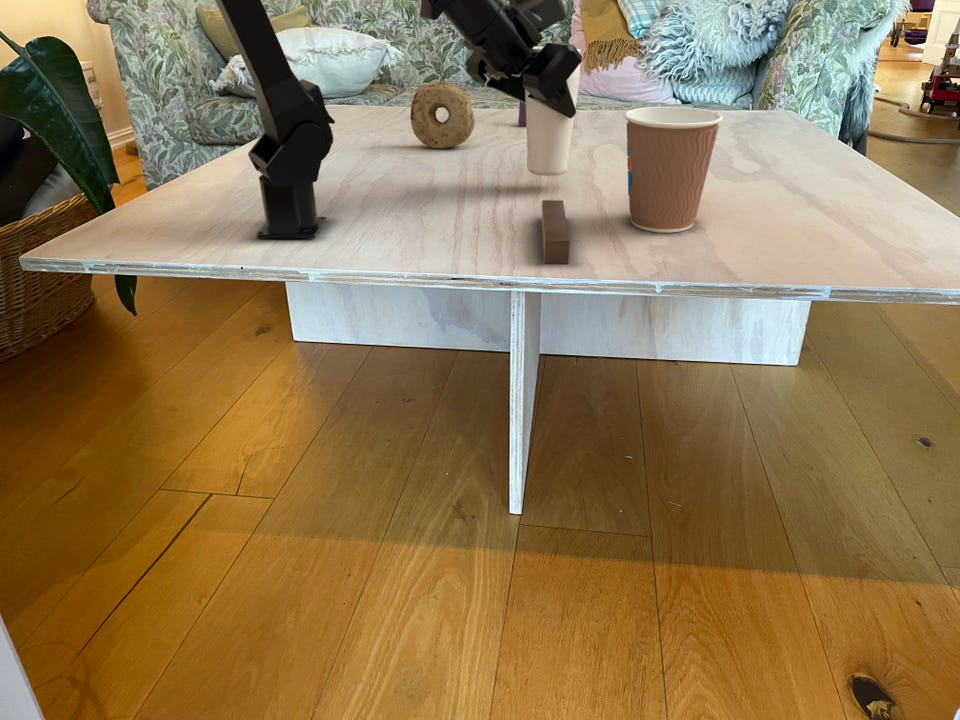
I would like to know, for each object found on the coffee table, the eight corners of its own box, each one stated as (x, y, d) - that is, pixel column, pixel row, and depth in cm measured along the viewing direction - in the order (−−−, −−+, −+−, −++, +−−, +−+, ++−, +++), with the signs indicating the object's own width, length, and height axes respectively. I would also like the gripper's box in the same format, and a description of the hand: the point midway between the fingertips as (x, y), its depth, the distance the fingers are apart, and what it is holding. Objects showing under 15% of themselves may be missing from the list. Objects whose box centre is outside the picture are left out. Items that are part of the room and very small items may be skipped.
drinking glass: (561, 180, 92) (569, 50, 86) (512, 174, 95) (516, 48, 89) (580, 170, 98) (589, 47, 91) (534, 164, 101) (539, 45, 94)
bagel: (408, 149, 120) (404, 84, 115) (415, 144, 123) (412, 80, 118) (470, 151, 118) (469, 85, 113) (476, 146, 121) (475, 82, 116)
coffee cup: (643, 205, 91) (652, 103, 85) (723, 220, 85) (739, 112, 79) (599, 226, 84) (606, 116, 78) (683, 244, 78) (697, 127, 72)
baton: (568, 263, 74) (569, 240, 73) (544, 263, 74) (545, 240, 73) (562, 220, 86) (563, 200, 85) (541, 220, 86) (542, 200, 85)
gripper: (572, -39, 76) (645, 68, 86) (487, -38, 91) (558, 54, 101) (505, 47, 77) (585, 144, 87) (431, 34, 91) (507, 118, 101)
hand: (558, 111), depth 94 cm, fingers closed on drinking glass, 6 cm apart
